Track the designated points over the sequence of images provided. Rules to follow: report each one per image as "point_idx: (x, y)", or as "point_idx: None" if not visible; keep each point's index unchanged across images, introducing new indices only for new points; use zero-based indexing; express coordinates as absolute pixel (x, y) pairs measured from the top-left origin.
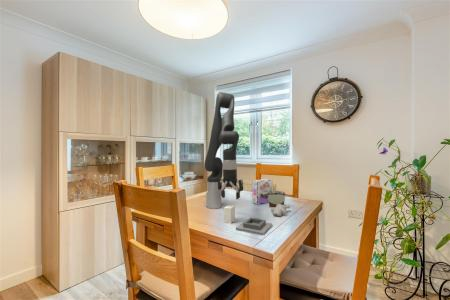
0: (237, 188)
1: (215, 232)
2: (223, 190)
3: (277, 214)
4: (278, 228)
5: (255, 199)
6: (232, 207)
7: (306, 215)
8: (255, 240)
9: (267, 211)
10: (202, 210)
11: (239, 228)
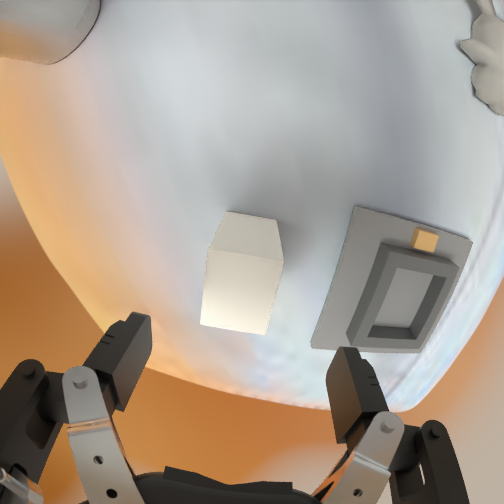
0: (367, 460)
1: (230, 378)
2: (111, 403)
3: (495, 109)
4: (478, 267)
5: None
6: (271, 307)
7: None
8: (385, 385)
9: (427, 11)
10: (27, 117)
11: (330, 349)
